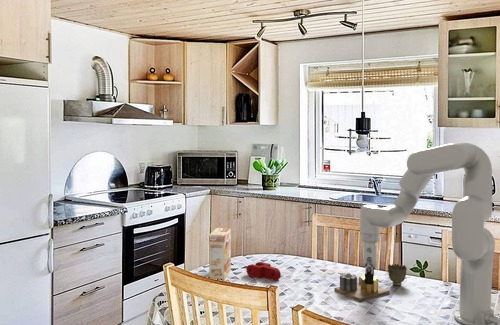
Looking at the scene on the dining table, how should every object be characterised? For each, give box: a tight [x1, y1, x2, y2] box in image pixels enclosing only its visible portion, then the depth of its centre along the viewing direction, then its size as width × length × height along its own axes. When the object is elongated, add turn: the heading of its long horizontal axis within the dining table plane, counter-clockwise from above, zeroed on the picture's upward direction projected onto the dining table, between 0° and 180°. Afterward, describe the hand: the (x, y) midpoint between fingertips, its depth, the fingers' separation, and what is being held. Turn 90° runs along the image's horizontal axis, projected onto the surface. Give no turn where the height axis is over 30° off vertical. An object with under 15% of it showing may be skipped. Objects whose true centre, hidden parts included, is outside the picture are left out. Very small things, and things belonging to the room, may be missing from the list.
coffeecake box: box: [208, 227, 232, 281], centre depth 209 cm, size 15×7×20 cm, turn 171°
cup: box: [387, 263, 408, 287], centre depth 194 cm, size 8×7×8 cm
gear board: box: [333, 272, 391, 303], centre depth 186 cm, size 14×16×7 cm
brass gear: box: [361, 274, 379, 293], centre depth 185 cm, size 7×7×5 cm
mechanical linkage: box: [245, 261, 282, 282], centre depth 206 cm, size 16×7×5 cm, turn 45°
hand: (369, 280), depth 185 cm, fingers open, 9 cm apart
